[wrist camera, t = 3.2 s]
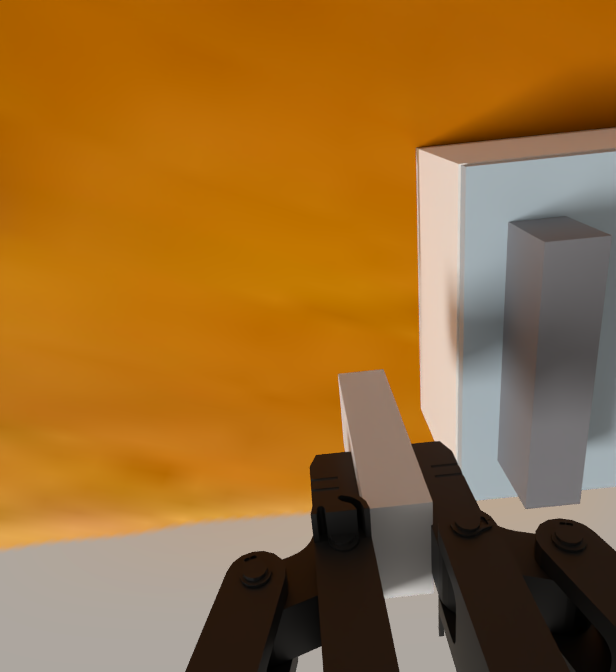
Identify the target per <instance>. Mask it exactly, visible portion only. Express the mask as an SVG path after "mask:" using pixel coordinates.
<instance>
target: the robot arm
mask: <svg viewBox="0 0 616 672" xmlns="http://www.w3.org/2000/svg"><path fill="white" fill-rule="evenodd" d="M338 379H339V391H340V403H341V415H342V427H343V439H344V447H345V452H341V453H331V454H322V455H316V456H315V458H314V460H313V462H312V464H311V465H310V478H311V491H312V511H311V519H312V529H313V537H312V539H311V541H310V543H309V544H308V545H307V546H306V547H305V548H304V549H303V550H302V551H300V552H299V553H297V554H295V555H293V556H290V557H288V558H285V559H283V560H282V559H281V558H279V557H278V556H277V555H275V554H274V553H269V552H265V551H259V552H251V553H248V554H246V555H243V556H241V557H240V558H238V559H237V560H236V561H235V562H233V563H232V565H231V566H230V568H229V569H228V571H227V573H226V575H225V577H224V580H223V582H222V584H221V587H220V589H219V592H218V594H217V596H216V599H215V601H214V604H213V606H212V609H211V611H210V613H209V616H208V618H207V621H206V623H205V626H204V628H203V630H202V633H201V635H200V638H199V640H198V642H197V645H196V647H195V649H194V652H193V654H192V657H191V659H190V661H189V664H188V666H187V669H186V671H185V672H296V668H297V663H298V656H300V655H302V654H304V653H307V652H309V651H311V650H313V649H316V648H318V647H320V646H322V658H323V672H399V667H398V662H397V657H396V653H395V648H394V643H393V638H392V633H391V629H390V623H389V618H388V614H387V609H386V604H385V599H384V598H393V597H403V596H412V595H422V594H432V593H434V583H433V581H434V582H435V585H436V588H437V591H438V594H439V636H444V631H445V634H446V637H447V641H448V644H449V647H450V650H451V654H452V657H453V661H454V664H455V667H456V671H457V672H616V551H615V550H614V549H612V547H610V546H609V545H608V544H607V543H606V542H605V541H604V540H603V539H601V538H600V536H598V535H597V534H596V533H595V532H594V531H592V530H591V529H590V528H588V527H587V526H585V525H583V524H581V523H578V522H575V521H573V520H566V519H552V520H547V521H545V522H543V523H542V524H540V525H539V527H538V529H537V530H536V534H533V533H526V532H518V531H513V530H508V529H505V528H502V527H499V526H497V524H496V523H495V521H494V520H493V519H492V518H491V516H489V515H488V514H486V513H484V512H483V511H481V510H480V508H479V506H478V504H477V502H476V500H475V498H474V496H473V494H472V492H471V490H470V487H469V485H468V483H467V481H466V479H465V477H464V475H463V474H462V471H461V469H460V467H459V465H458V463H457V460H456V458H455V456H454V454H453V452H452V451H451V450H450V449H449V448H448V447H446V446H445V445H444V444H443V443H441V442H440V441H435V442H425V443H415V444H411V442H410V440H409V437H408V434H407V431H406V429H405V426H404V423H403V421H402V418H401V415H400V413H399V410H398V407H397V405H396V402H395V399H394V396H393V394H392V391H391V388H390V386H389V383H388V380H387V378H386V375H385V372H384V370H383V369H382V370H372V371H362V372H353V373H343V374H338ZM433 578H434V579H433Z"/></svg>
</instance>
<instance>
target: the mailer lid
mask: <svg viewBox="0 0 616 672" xmlns="http://www.w3.org/2000/svg"><path fill="white" fill-rule="evenodd" d="M457 463H458V465H459V467H460V469H461V471H462V474H463V475H464V477H465V479H466V481H467V483H468V485H469V487H470V490H471V492H472V494H473V496H474V498H475V500H476V501H477V500H486V499H497V498H506V497H519V498H520V500H521V502H522V504H523V505H524V507H525V509H531V508H540V507H550V506H561V505H570V504H580V499H581V490H587V489H588V490H589V489H598V488H609V487H616V149H609V150H600V151H590V152H580V153H571V154H561V155H551V156H542V157H532V158H522V159H513V160H503V161H494V162H484V163H474V164H465V165H461V197H460V285H459V372H458V460H457Z"/></svg>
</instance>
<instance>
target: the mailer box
mask: <svg viewBox="0 0 616 672" xmlns="http://www.w3.org/2000/svg"><path fill="white" fill-rule="evenodd" d="M609 149H616V127H613V128H603V129H594V130H584V131H574V132H565V133H555V134H546V135H536V136H526V137H517V138H507V139H497V140H488V141H478V142H469V143H459V144H449V145H440V146H430V147H421V148H416V176H417V229H418V282H419V334H420V387H421V410H422V412H423V415H424V417H425V419H426V422H427V424H428V426H429V429H430V431H431V433H432V436H433V438H434V440H435V441H440V442H441V443H443V444H444V445H445V446H446V447H448V448H449V449H450V450H451V451H452V452H453V454H454V456H455V458H456V460H458V372H459V285H460V197H461V165H465V164H474V163H484V162H494V161H503V160H513V159H522V158H532V157H542V156H551V155H561V154H571V153H580V152H590V151H600V150H609Z"/></svg>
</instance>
